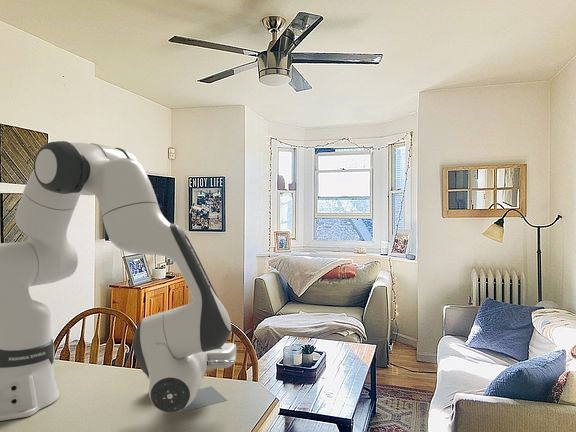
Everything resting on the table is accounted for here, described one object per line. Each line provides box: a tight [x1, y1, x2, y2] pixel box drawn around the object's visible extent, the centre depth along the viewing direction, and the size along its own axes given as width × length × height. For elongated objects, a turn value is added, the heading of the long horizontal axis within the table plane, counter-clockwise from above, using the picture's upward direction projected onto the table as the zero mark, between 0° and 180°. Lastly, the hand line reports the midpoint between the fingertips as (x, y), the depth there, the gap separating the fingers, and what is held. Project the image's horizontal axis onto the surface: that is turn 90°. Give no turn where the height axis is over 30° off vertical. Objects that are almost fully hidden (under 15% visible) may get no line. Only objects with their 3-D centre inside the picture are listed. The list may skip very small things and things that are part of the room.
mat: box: [181, 385, 228, 413], centre depth 106 cm, size 11×10×1 cm
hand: (197, 343), depth 107 cm, fingers closed on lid, 3 cm apart
